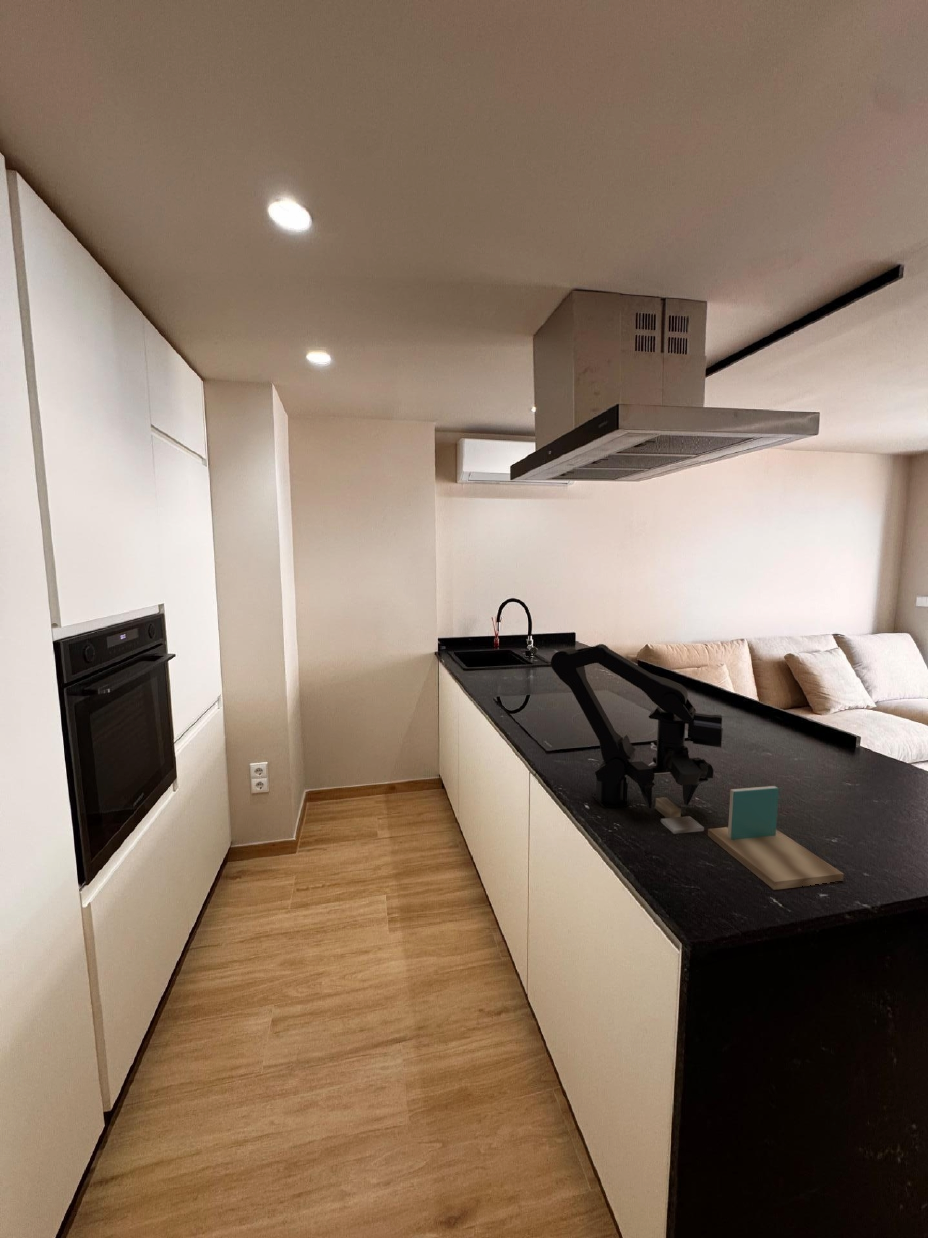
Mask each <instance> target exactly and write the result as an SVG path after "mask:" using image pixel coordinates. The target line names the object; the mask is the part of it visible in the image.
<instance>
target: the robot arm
mask: <svg viewBox="0 0 928 1238" xmlns="http://www.w3.org/2000/svg"><path fill="white" fill-rule="evenodd" d="M592 664H598V665H600V666H602V667H604V668H605V669H607V670H609V671H610V672H612V673H613V674H615V675H617V676H618V677H620V678H621V679H623V680H625V681H626V682H628V683H630V684H631V685H633V686H635V687H636V688H638V689H639V690H641V691H642V692H643V693H644V694H645V695H646V696H647V697H648V698H649V700H650V701H652V703H654V704H655V705H656V708H655V709H654V710H653V711H651V712H650V713H649V715H648V719H650V720H657V729H656V730H657V731H656V733H657V734H656V735H657V736H656V739H655V740H653V744H654V745H655V746H657V747H656V749H657V751H656V753H655V754H656V756H655V757H652V762H654V764H655V765H649V764H647V763H645V762H644V761H642V760H640V761H636V758H637V757H636V753H635V752H636V750H637V749H636V748H635V747H634V746H633V745H632V743H631V741H630V738H629V736H628V734H626V735H623V736H621V735H620V734H619V733H618V732H617V731H616V729H615V728H614V726H613V724H612V723H611V721H610V719H609V717H608V716H607V714H606V711H605V710H604V708H603V706H602V704H601V703H600V700H599V699H598V697H597V695H596V693H595V692H594V690H593V688H592V687H591V684H590V683H589V681H588V679H587V674H586V667H585V666H589V665H592ZM550 666H551V667H550V668H551V669H552V671H553V672H554V673H555V674H556V675H557V677H558V678H559V679H560V681H561V682H562V683H564V684H565V685H566V686H567V687H568V688H569V689H570V691H571V692H572V694H573V696H574V697H575V699H576V702H577V703H578V705H579V706H580V708H581V710H582V712H583V714H584V716H585V718H586V720H587V721H588V724H589V725H590V727H591V729H592V731H593V732H594V735H595V736H596V738H597V740H598V742H599V747H600V754H601V758H602V760H603V761H602V762H601V763H600V765H599V766H598V768H597V769H596V770H595V771H594V774H595V777H596V778H595V779H596V780H595V782H596V783H595V793H592V797H593V798H594V799H595V800H596V801H597V802H598V803H599V805H601V806H602V807H603V808H606V809H607V808H618V807H629V806H630V802H628V796H629V795H628V794H629V793H628V792H629V783H628V782H627V777H626V776H628V778H630V779H632V781H633V782H635V783H636V784H637V785H638V788H639V789H640V792H641V794H642V797H643V800H644V803H645V805H646V807H647V809H652V803H653V798H652V797H653V788H654V786H656V783H654V780H655V776H659V775H661V776H662V775H671V776H672V777H673V779H674V782H675V783H676V784H677V785H679V786H682V799H683V804H684V805H686V806H689V804H690V802H691V801H692V798H693V796H694V795H695V794H694V793H695V792H696V790H697V788H698V786H700V784H701V785H702V784H703V783H705V782H708V781H709V779H714V775H715V769H714V767H713V765H712V764H711V763H709V762H707V761H706V759H703V758H701V757H698V756H697V757H690V754H689V752H690V751H689V747H687V746H685V737H686V725H687V739H689V741H690V742H692V744H693V745H699V746H700V745H701V746H707V747H712V748H719V749H722V746H723V732H724V731H723V730H724V729H723V716H722V715H721V714H720V715H719V714H707V713H706V714H705V713H697V709H696V708H695V706H694V705H693V704H692V702H691V701H690V700H689V698H688V695H689V694H688V690H687V689H686V687H685V686H684V685H683V684H681V683H678V682H676V681H674V680H672V679H668V678H666V677H663V676H659V675H656V674H653V673H651V672H649V671H648V670H646V669H644V668H642V667H641V666H640V665H637V664H636V663H634V662H633V661H631V660H629V659H627V658H626V657H624V656H622V655H620V654H619V653H617V652H616V651H614V650H612V649H610V648H609V646H607V645H606V644H603V643H599V644H597V645H594V646H593V645H592V646H589V647H588V646H587V647H584V648H579V649H576V648H572V647H566V648H563V649H561V650H559V651H556V652H555V653H554V654H553V655H552V657H551V660H550ZM648 765H649V766H648Z"/></svg>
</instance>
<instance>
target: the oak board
mask: <svg viewBox="0 0 928 1238" xmlns="http://www.w3.org/2000/svg"><path fill="white" fill-rule="evenodd" d="M707 837H709V838H710V839H711V840H712V841H714V843H716V844H717V845H718V846H719V847H721V848H722V849H723V850H725V851H726V852H727V853H728V854H729V855H730V856H731V857H733V858H734V859H736V861H737V862H739V863H740V864H741V865H742V866H744V867H746V869H748V870H749V871H750V872H752V873H753V874H754V875H755V876H756V877H757V878H759V879H760V880H761V881H762V882H764V883H765V884H766V885H767V886H769V888H771V889H772V890H773V891H776V890H785V889H793V888H802V886H803V887H810V885H811V886H816V885H815V884H819V885H823V884H822V883H827V884H831V883H830V882H835V881H843V882H844V873H843V872H842V871H840V870H839V869H837V868H836V867H834V866H832V865H831V864H829V863H828V862H826V861H825V860H824V859H822V858H821V857H819V856H818V855H816V854H814V853H813V852H812V851H810V850H808V849H807V848H806V847H804V846H803V845H801V844H800V843H798V842H796V840H793V839H792V838H790V837H788V836H787V835H786V834H785V833H783V832H781V831H780V830H778V829H777V828H776V835H775V836H765V837H755V838H745V839H735V840H731V839H730V838H729V837H728V826H724V827H714V828H708V829H707ZM835 883H836V882H835Z"/></svg>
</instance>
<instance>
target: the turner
mask: <svg viewBox="0 0 928 1238" xmlns="http://www.w3.org/2000/svg"><path fill="white" fill-rule="evenodd" d="M655 809H656V810H657V812H659V813H660V814H661V815H662V816H664V818H660V822H661V824H663V826H665V827H666V828H667V829H668V830H669V831H670V832H671V833H672V834H674V835H677V834H686V833H687V834H688V833H696V832H704V831H705V827H704V826H703V825H702V824H700V823H699V822H698V821H697V820H695V818H693V817H691V815H687V816H681V815H682V809H681V808H680V807H678V806H677V805H676V804H674V803H673V802H672V800H669V799H668V798H667V797H666V796H665V797H657V798H655Z"/></svg>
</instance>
